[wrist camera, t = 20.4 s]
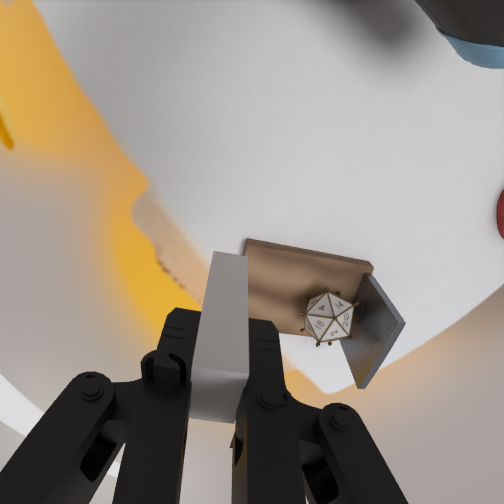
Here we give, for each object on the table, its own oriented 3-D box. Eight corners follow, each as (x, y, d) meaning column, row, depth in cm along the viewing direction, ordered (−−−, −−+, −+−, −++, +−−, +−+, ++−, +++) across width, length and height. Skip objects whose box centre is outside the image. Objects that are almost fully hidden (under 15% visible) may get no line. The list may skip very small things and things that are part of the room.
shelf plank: (247, 238, 42) (247, 244, 40) (369, 261, 44) (373, 267, 42) (229, 318, 47) (229, 326, 46) (338, 331, 50) (341, 339, 48)
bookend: (364, 272, 42) (398, 322, 32) (371, 273, 43) (405, 323, 32) (337, 334, 47) (357, 388, 37) (343, 334, 48) (364, 388, 37)
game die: (311, 280, 47) (322, 272, 37) (357, 303, 46) (378, 300, 36) (286, 330, 46) (290, 335, 36) (332, 353, 44) (348, 363, 35)
